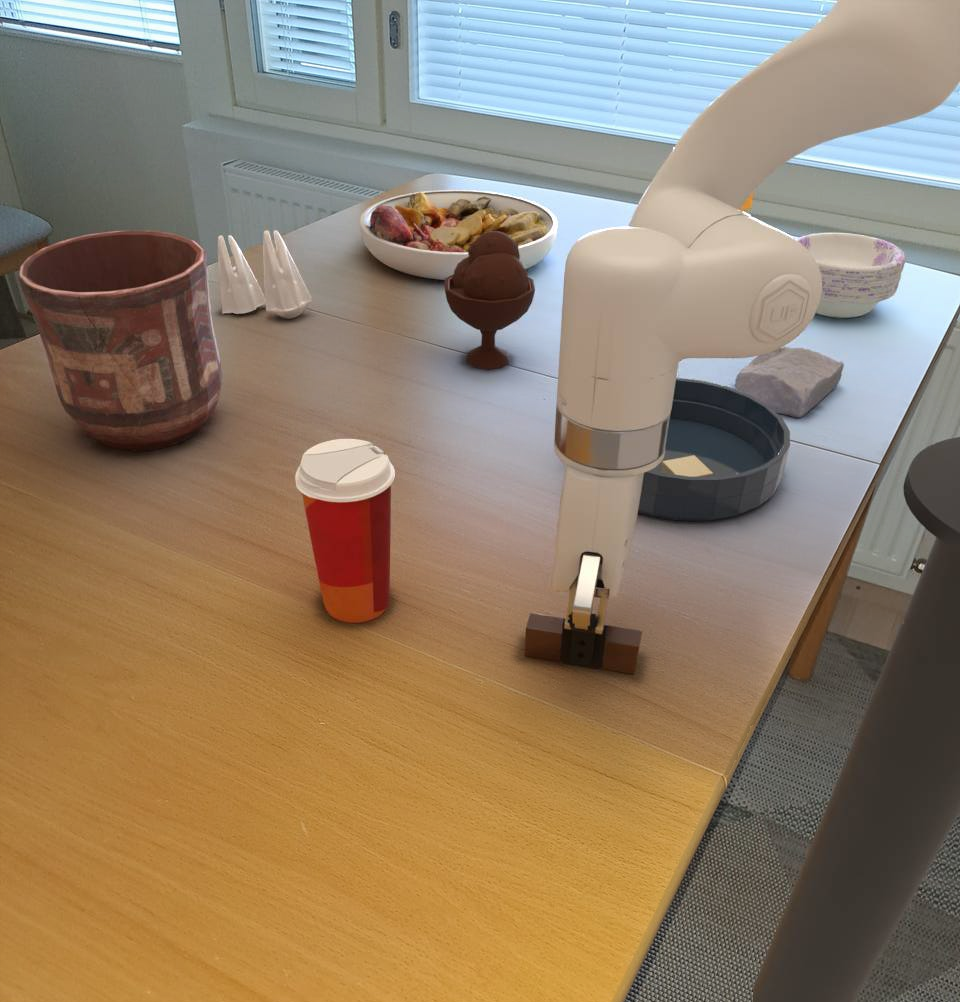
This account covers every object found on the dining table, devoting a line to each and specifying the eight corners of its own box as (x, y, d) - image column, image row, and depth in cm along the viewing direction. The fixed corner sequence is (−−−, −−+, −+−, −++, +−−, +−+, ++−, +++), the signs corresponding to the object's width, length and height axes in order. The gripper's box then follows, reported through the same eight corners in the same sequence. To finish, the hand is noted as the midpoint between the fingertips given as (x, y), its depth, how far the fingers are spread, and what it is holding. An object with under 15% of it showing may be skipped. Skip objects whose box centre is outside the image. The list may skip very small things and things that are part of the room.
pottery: (235, 457, 99) (205, 286, 87) (59, 473, 96) (4, 299, 84) (231, 382, 112) (205, 224, 100) (77, 394, 109) (30, 233, 97)
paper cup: (371, 565, 85) (361, 425, 76) (418, 609, 81) (413, 466, 72) (294, 596, 82) (273, 454, 73) (339, 644, 77) (323, 498, 68)
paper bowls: (765, 285, 138) (777, 229, 133) (867, 285, 139) (883, 230, 134) (795, 328, 127) (809, 268, 122) (906, 328, 128) (925, 268, 122)
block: (688, 486, 95) (694, 455, 93) (706, 504, 93) (713, 473, 90) (656, 492, 94) (662, 461, 92) (674, 511, 92) (680, 479, 89)
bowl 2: (778, 432, 105) (789, 390, 102) (778, 538, 90) (791, 493, 86) (590, 408, 109) (594, 367, 106) (559, 506, 93) (563, 462, 90)
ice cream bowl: (432, 347, 120) (430, 225, 111) (514, 337, 123) (519, 217, 113) (458, 384, 113) (459, 256, 103) (544, 371, 116) (553, 246, 106)
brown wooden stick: (523, 656, 77) (525, 627, 75) (528, 640, 78) (530, 612, 76) (634, 674, 75) (639, 646, 73) (637, 658, 77) (642, 630, 75)
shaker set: (315, 313, 128) (306, 228, 121) (302, 325, 125) (293, 238, 118) (234, 302, 130) (221, 218, 123) (220, 314, 127) (205, 228, 120)
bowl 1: (483, 210, 162) (484, 160, 157) (595, 264, 144) (600, 209, 139) (327, 241, 149) (323, 188, 144) (428, 304, 131) (427, 246, 126)
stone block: (725, 412, 112) (807, 421, 107) (725, 372, 110) (810, 379, 104) (766, 380, 120) (846, 388, 114) (768, 342, 117) (849, 348, 111)
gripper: (576, 367, 70) (562, 553, 81) (531, 490, 58) (522, 690, 69) (678, 377, 69) (649, 565, 80) (654, 506, 56) (624, 707, 68)
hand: (590, 623), depth 75 cm, fingers open, 9 cm apart
